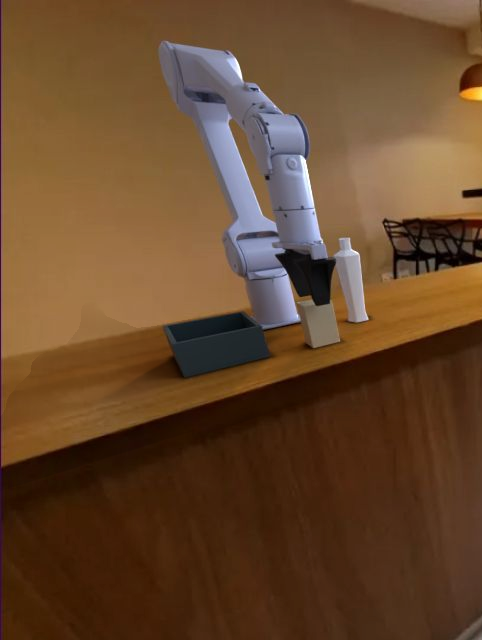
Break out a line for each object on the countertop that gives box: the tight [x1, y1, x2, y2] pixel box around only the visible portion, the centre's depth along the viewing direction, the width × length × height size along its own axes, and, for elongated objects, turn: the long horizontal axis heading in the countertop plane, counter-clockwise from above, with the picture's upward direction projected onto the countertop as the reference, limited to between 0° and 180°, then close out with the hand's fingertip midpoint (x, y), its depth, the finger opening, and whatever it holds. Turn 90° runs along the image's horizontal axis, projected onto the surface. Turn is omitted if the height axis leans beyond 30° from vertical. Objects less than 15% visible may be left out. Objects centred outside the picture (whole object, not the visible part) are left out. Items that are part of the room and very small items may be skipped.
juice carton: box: [296, 299, 341, 349], centre depth 72 cm, size 4×4×9 cm
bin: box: [162, 310, 271, 379], centre depth 67 cm, size 11×11×5 cm
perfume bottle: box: [332, 237, 370, 324], centre depth 81 cm, size 5×4×15 cm
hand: (314, 300), depth 70 cm, fingers open, 7 cm apart
